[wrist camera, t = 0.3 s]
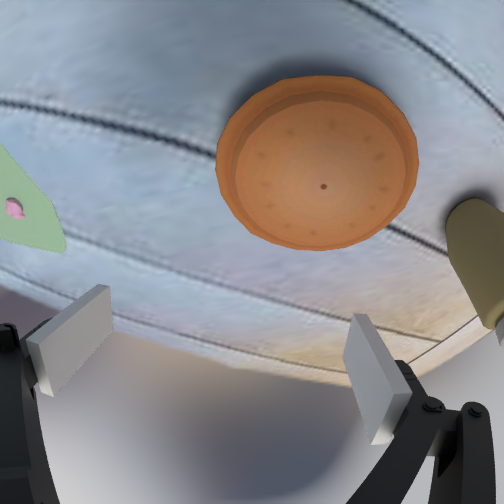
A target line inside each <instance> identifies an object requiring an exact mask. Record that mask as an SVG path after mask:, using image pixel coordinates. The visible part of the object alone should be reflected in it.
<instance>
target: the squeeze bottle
mask: <svg viewBox="0 0 504 504" xmlns="http://www.w3.org/2000/svg"><path fill="white" fill-rule="evenodd" d="M446 236H447V249H448V256H449V259H450V263H451V265H452V266H453V268H454V270H455V272H456V273H457V275H458V277H459V279H460V281H461V283H462V284H463V286H464V288H465V290H466V292H467V294H468V296H469V298H470V300H471V302H472V304H473V305H474V307H475V310H476V312H477V314H478V316H479V318H480V320H481V322H482V324H483V326H484V327H486V328H488V329H492V330H496V335H497V338H498V341H499V344H500V346H502V347H503V348H504V213H503V212H501V211H500V210H498V209H497V208H495V207H494V206H492V205H490V204H489V203H487V202H486V201H484V200H481V199H478V198H474V199H468V200H466V201H464V202H462V203H460V204H459V205H458V206H457V207H456V208H455V209H454V210H453V211H452V212H451V214H450V215H449V217H448V219H447V223H446Z"/></svg>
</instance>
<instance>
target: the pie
mask: <svg viewBox="0 0 504 504" xmlns="http://www.w3.org/2000/svg"><path fill="white" fill-rule="evenodd" d="M418 167H419V158H418V149H417V141H416V137H415V135H414V133H413V131H412V129H411V127H410V125H409V123H408V121H407V119H406V117H405V116H404V114H403V113H402V111H401V110H400V109H399V108H398V107H397V106H396V105H395V104H394V103H393V102H392V101H391V100H390V99H389V98H388V97H387V96H386V95H385V94H384V93H383V92H382V91H380V90H378V89H376V88H374V87H372V86H370V85H368V84H366V83H364V82H362V81H360V80H358V79H355V78H353V77H344V76H329V75H313V76H303V77H295V78H287V79H282V80H280V81H278V82H276V83H274V84H272V85H270V86H268V87H267V88H265V89H263V90H261V91H259V92H257V93H255V94H254V95H252V96H251V97H250V98H249V99H248V100H247V101H246V102H245V103H244V104H243V105H242V106H241V107H240V108H239V109H238V110H237V111H236V112H235V113H234V114H233V115H232V116H231V117H230V118H229V120H228V122H227V124H226V126H225V129H224V131H223V133H222V135H221V137H220V139H219V141H218V143H217V153H216V168H215V170H216V175H217V179H218V183H219V188H220V192H221V195H222V197H223V199H224V200H225V202H226V203H227V205H228V207H229V208H230V210H231V211H232V213H233V215H234V216H235V217H236V218H237V219H238V220H239V221H240V222H241V223H242V224H243V225H244V227H245V228H246V229H247V230H248V231H249V232H250V233H252V234H254V235H256V236H258V237H260V238H262V239H265V240H267V241H269V242H271V243H273V244H277V245H281V246H285V247H289V248H292V249H297V250H312V251H325V250H333V249H340V248H346V247H348V246H351V245H354V244H356V243H359V242H361V241H364V240H366V239H368V238H370V237H371V236H373V235H374V234H376V233H377V232H378V231H380V230H381V229H383V228H384V227H386V226H387V225H388V224H389V223H390V222H391V221H392V220H393V219H394V218H395V217H396V216H397V215H398V214H399V213H400V212H401V211H402V210H403V209H404V208H405V206H406V204H407V202H408V200H409V198H410V196H411V194H412V192H413V190H414V188H415V185H416V179H417V173H418Z"/></svg>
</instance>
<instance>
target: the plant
mask: <svg viewBox="0 0 504 504" xmlns="http://www.w3.org/2000/svg"><path fill="white" fill-rule="evenodd" d="M0 239H3V240H6V241H9V242H12V243H16V244H20V245H24V246H29V247H33V248H38V249H42V250H47V251H51V252H57V253H63V252H64V251H65V249H66V242H65V237H64V234H63V230H62V227H61V224H60V221H59V219H58V216H57V213H56V211H55V208H54V206H53V204H52V201H51V200H50V199H49V198H48V197H47V196H46V195H45V194H44V192H43V191H42V190H41V189H40V188H39V187H38V186H37V185H36V184H35V182H34V181H33V180H32V179H31V178H30V177H29V176H28V175H27V173H26V172H25V171H24V170H23V169H22V168H21V167H20V165H19V164H18V163H17V162H16V161H15V159H14V158H13V157H12V156H11V155H10V153H9V152H8V151H7V150H6V149H5V147H4V146H3V145H2V144H1V142H0Z"/></svg>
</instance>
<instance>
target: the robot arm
mask: <svg viewBox="0 0 504 504" xmlns="http://www.w3.org/2000/svg"><path fill="white" fill-rule="evenodd" d="M113 330H114V328H113V318H112V308H111V297H110V286H107V285H101V284H98V285H96V286H95V287H94V288H92V289H91V290H89V291H88V292H87V293H85V294H84V295H83V296H81V297H80V298H79V299H77V300H76V301H75V302H73V303H72V304H71V305H69V306H68V307H67V308H65V309H64V310H63V311H61V312H60V313H59V314H57V315H56V316H55V317H54V318H50V319H48V320H46V321H43V322H42V323H41V324H39V325H38V327H36V328H34V329H33V331H30V332H29V333H28V334H26V335H25V336H24V337H23V338H21V339H20V340H19V337H18V333H17V329H16V326H15V325H13V324H10V323H3V324H0V504H60V502H59V499H58V496H57V493H56V490H55V486H54V483H53V479H52V475H51V472H50V468H49V464H48V460H47V455H46V451H45V446H44V442H43V437H42V431H41V426H40V420H39V413H38V407H37V399H36V392H35V389H34V385H35V384H36V383H37V382H38V383H39V386H40V389H41V392H43V393H45V394H48V395H50V396H53V397H55V395H57V393H58V392H59V391H60V390H61V389H62V387H63V386H64V385H65V384H66V383H67V382H68V381H69V379H70V378H71V377H72V376H73V375H74V373H75V372H76V371H77V370H78V369H79V368H80V366H81V365H82V364H83V363H84V362H85V361H86V360H87V359H88V358H89V356H90V355H91V354H92V353H93V352H94V351H95V350H96V349H97V348H98V346H99V345H100V344H101V343H102V342H103V341H104V340H105V339H106V338H107V336H108V335H109V334H110V333H111V332H112V331H113ZM342 358H343V361H344V364H345V367H346V370H347V372H348V375H349V378H350V381H351V384H352V387H353V390H354V394H355V397H356V400H357V403H358V406H359V409H360V412H361V415H362V418H363V422H364V425H365V428H366V431H367V434H368V438H369V441H370V444H371V445H375V444H386V443H388V442H389V440H390V438H391V436H392V434H394V439H393V440H392V442H391V444H390V445H389V447H388V448H387V449H386V451H385V453H384V454H383V456H382V457H381V458H380V460H379V461H378V463H377V464H376V465H375V467H374V468H373V470H372V471H371V472H370V474H369V475H368V476H367V478H366V479H365V480H364V482H363V483H362V484H361V485H360V487H359V488H358V489H357V490H356V492H355V493H354V494H353V495H352V497H351V498H350V499H349V500H348V502H347V503H346V504H401V502H402V500H403V499H404V497H405V495H406V494H407V492H408V490H409V488H410V486H411V485H412V483H413V481H414V479H415V477H416V475H417V474H418V472H419V469H420V468H421V466H422V464H423V462H424V460H425V458H426V456H435V461H434V469H433V476H432V483H431V489H430V495H429V501H428V504H496V483H495V461H494V451H493V450H494V449H493V439H492V431H491V423H490V416H489V412H488V410H487V409H486V408H485V406H483V405H482V404H480V403H477V402H467V403H465V404H464V405H463V407H462V408H461V410H460V411H456V410H448V409H446V408H445V406H444V404H443V403H442V402H441V401H440V400H438V399H436V398H434V397H430V396H428V395H427V394H426V392H425V390H424V389H423V387H422V385H421V384H420V382H419V380H417V377H416V376H415V374H414V372H413V371H412V369H411V367H410V366H409V365H408V364H406V363H405V362H404V361H403V360H394V359H393V357H392V356H391V354H390V352H389V350H388V349H387V347H386V345H385V344H384V342H383V340H382V339H381V337H380V335H379V334H378V332H377V330H376V329H375V327H374V325H373V324H372V322H371V320H370V319H369V317H368V315H367V314H355V313H353V317H352V321H351V325H350V329H349V333H348V338H347V341H346V345H345V349H344V353H343V357H342Z"/></svg>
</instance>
